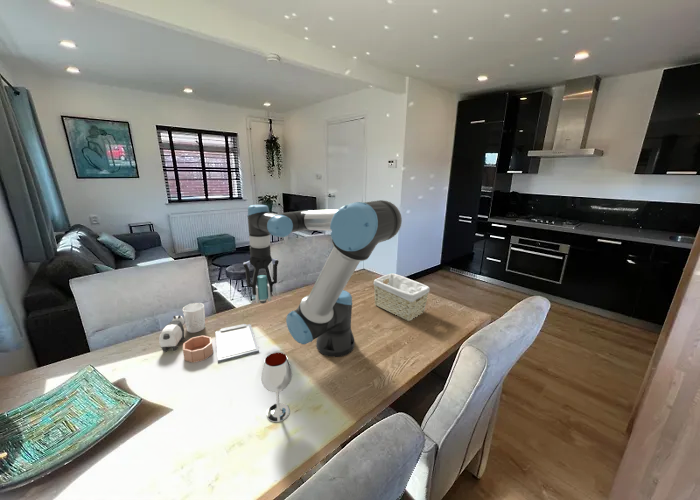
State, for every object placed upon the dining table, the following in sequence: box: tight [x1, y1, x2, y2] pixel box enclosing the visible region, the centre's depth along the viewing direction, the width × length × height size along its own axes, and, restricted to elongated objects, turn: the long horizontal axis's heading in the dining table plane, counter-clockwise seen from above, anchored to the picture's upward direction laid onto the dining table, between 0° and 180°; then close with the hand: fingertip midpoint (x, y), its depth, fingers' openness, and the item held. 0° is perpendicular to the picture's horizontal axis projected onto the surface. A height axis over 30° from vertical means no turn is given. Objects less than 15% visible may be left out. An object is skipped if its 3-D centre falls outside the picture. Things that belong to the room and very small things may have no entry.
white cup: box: [182, 302, 206, 334], centre depth 117 cm, size 8×8×10 cm
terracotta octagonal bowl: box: [182, 334, 214, 363], centre depth 102 cm, size 9×9×4 cm
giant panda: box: [158, 315, 186, 353], centre depth 108 cm, size 15×6×10 cm, turn 10°
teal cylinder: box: [256, 274, 268, 304], centre depth 112 cm, size 4×4×11 cm
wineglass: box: [260, 351, 293, 423], centre depth 77 cm, size 8×8×18 cm
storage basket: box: [373, 272, 431, 322], centre depth 140 cm, size 24×16×15 cm
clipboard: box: [214, 323, 260, 363], centre depth 110 cm, size 20×14×2 cm
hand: (263, 300), depth 114 cm, fingers closed on teal cylinder, 4 cm apart
